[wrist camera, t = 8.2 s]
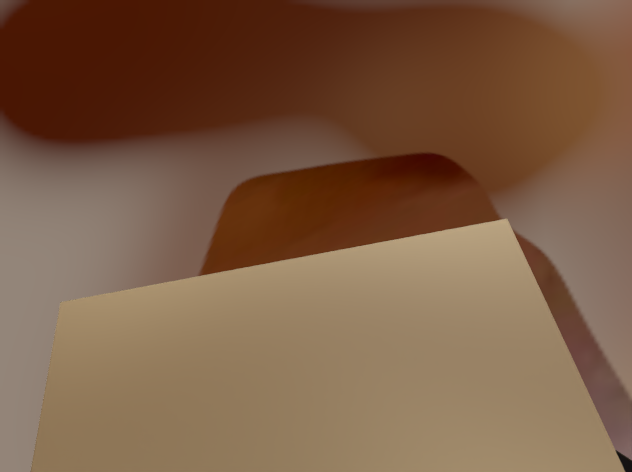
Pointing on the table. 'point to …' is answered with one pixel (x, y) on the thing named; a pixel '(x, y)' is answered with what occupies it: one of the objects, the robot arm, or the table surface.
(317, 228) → the table surface
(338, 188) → the table surface
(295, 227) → the table surface
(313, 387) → the block
